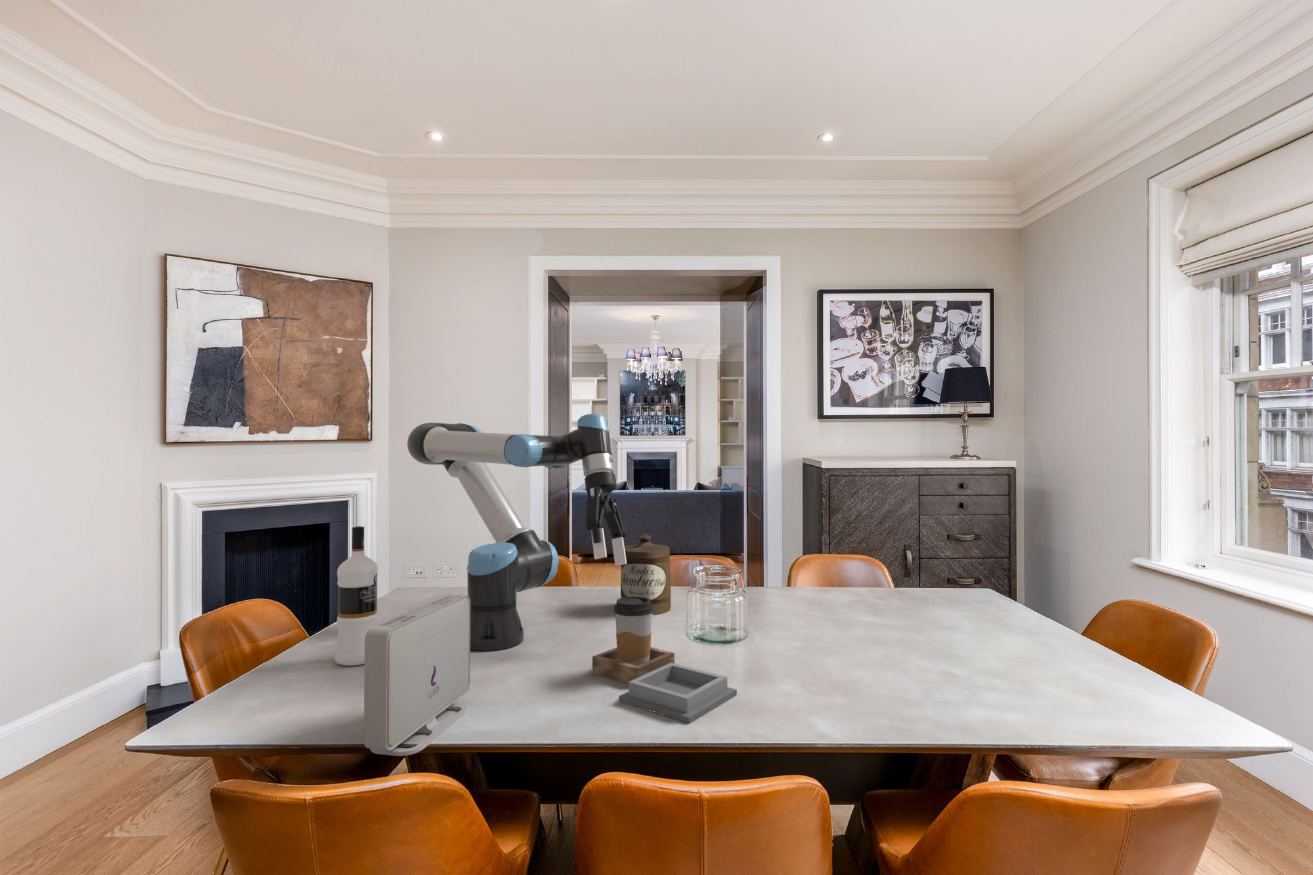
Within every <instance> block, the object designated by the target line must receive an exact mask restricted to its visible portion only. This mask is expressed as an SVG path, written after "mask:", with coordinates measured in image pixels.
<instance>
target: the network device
mask: <svg viewBox="0 0 1313 875" xmlns="http://www.w3.org/2000/svg"><path fill="white" fill-rule="evenodd" d="M363 672H364V673H363V674H364V675H363V676H364V677H363V678H364V682H363V686H364V687H363V688H364V689H363V690H364V692H363V693H364V694H363V703H364V704H363V706H364V707H363V745H364V747H365V748H366V749H370V751H371V752H372V753H373V754H376V755H386V756H392V757H393V756H394V757H395V756H396V757H403V756H411V755H414V754H417V753H420V752H421V751H422V750H424V749H425V748H426V747H428V746H429V745H430V744H431V743H433V742H434V741H435V740H436V739H437V738H439V737H440V736H441V735H442V734H443V733H445V732H446V731H447V730H448V729H449V728H451V727H452V726H453V725H454V724H455V723H456V722H458V721H459V720H460V719H461V718H463V717H464V716H465V715H466V714H467V706H466V705H464V704H461V703H457V701H458V700H460V699H461V698H462V697H464V696H465V695H466V694H467V693H468V692H469V690H470V684H471V650H470V598H469V596H468V594H467V595H464V594H462V595H461V594H447V595H444V596H441V597H439V598H437V599H435V600H433V601H429V602H428V603H426V604H423V605H421V606H419V607H415V608H413V609H412V610H409V611H407V612H404V613H402V614H400V615H398V616H395V617H393V618H391V619H389V620H386V621H383V622H382V623H378V624H377V625H376V626H374V627H372V628H370V629H369V630H368V632H367V633H366V636H365V659H364V671H363ZM455 702H456V703H455ZM445 710H452V711H458V712H456V713H455V714H454V715H453V716H451V718H449V719H447V720H446V721H440V722H439V721H438V720H437V716H439V715H440V714H441V713H443V712H444V711H445ZM415 733H419V734H429V735H428V736H427V737H425V738H424V739H423V740H422V741H420V742H419V743H418V744H416V745H415V746H412V747H409V748H404V747H398V746H399V745H401V744H402V743H403V742H404V741H406V740H407V739H409V738H410V737H412V735H414V734H415Z"/></svg>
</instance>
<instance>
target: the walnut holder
mask: <svg viewBox="0 0 1313 875" xmlns="http://www.w3.org/2000/svg"><path fill="white" fill-rule="evenodd" d="M675 655H676V654H675V652H673V651H668V650H664V649H660V648H656V647H650V657H649V661H647V662H645V663H643V664H640V665H638V666H635V665H632V664H628V663H624V662H620V661H618V655H617V646H616V647H614V648H611V649H608V650H606V651H603V652H601V653H598V654H596V655H592V658H591V659H592V660H591V661H592V665H591V666H592V670H591V671H592V672H591V674H593V675H597V676H600V677H603V678H608V679H611V680H613V681H618V682H621V683H624V684H627V683H628V685H629V681H632V680H634V679H636V678H638V677H641V676H643V675H645V674H647V673H649V672H652V671H654V670H656V669H658V668H660V667H663V666H665V665H667V664H669V663H674V664H676V663H675V657H676V656H675Z"/></svg>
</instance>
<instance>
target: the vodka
mask: <svg viewBox="0 0 1313 875" xmlns="http://www.w3.org/2000/svg"><path fill="white" fill-rule="evenodd" d="M378 571H379V566H378V563H377V562H376V561H375V560H373V559H371V558H370V557H368V556H367V555H365V526H361V525H356V526H353V527H352V528H351V556H350V557H348V558H347V559H345V560H344V561H343V562H342V563H340V565H339V566H338V568H337V571H336V576H337V582H336V583H337V585H338V586H337V587H338V590H337V592H338V594H337V595H338V598H337V599H338V601H337V602H338V604H337V605H338V606H337V613H338V614H337V617H336V621H337V639H336V640H337V641H336V648H335V650H334V658H333V659H334V661H335V663H336V664H337V665H339V666H342V667H356V666H363V665H364V659H365V636H366V633H367V632H368V630H369V629H370V628H372V627H374V626H376V625H378V616H379V613H378Z"/></svg>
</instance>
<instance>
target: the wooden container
mask: <svg viewBox="0 0 1313 875" xmlns="http://www.w3.org/2000/svg"><path fill="white" fill-rule="evenodd" d="M651 537H652V536H651V535H649V534H646V533H644V534H641V535H640V536H639V538H638V539H639V541H640V542H639V543H637V544H629V545H624V548H625V555H626V562H627V564H623V565H620V598H623V597H645V598H649V599H650V600H651V604H652V606H653V612H652V616H653V614H654V615H660V614H663V613H664V612H665V613H667V612H669V611H670V610H671V609H670V608H671V607H672V605H671V604H672V600H671V599H672V598H671V596H672V587H671V586H672V584H671V582H672V579H671V577H672V576H671V558H670V556H671V552H670V546H667V545H663V544H659V543H658V544H657V543H656V544H655V543H652V542H651V539H652V538H651ZM668 610H669V611H668ZM665 613H664V614H665Z"/></svg>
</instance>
